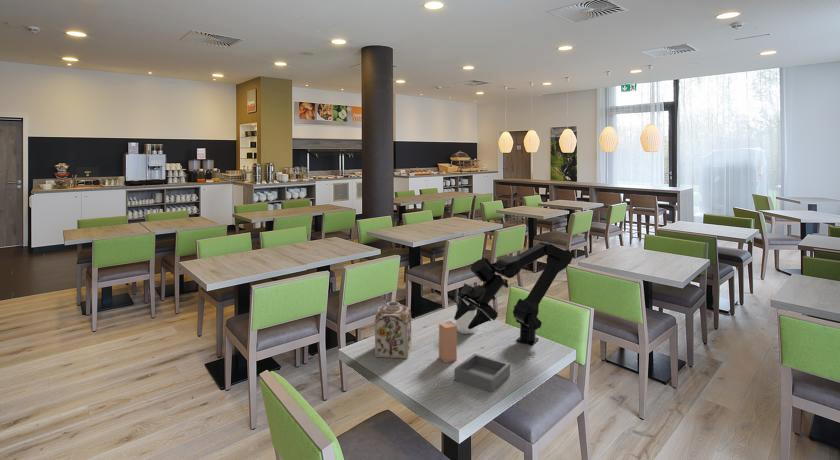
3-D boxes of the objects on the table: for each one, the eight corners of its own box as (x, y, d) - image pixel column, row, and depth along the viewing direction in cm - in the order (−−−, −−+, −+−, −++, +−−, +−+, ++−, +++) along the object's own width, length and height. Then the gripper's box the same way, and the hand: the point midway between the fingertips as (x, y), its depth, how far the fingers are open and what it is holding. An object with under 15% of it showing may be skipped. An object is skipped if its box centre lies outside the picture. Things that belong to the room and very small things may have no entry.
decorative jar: (380, 343, 172) (380, 297, 169) (411, 345, 171) (411, 298, 168) (374, 358, 161) (373, 308, 157) (407, 359, 159) (407, 309, 156)
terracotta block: (450, 354, 163) (450, 321, 161) (456, 360, 159) (457, 325, 157) (438, 357, 161) (439, 323, 159) (445, 362, 157) (445, 327, 155)
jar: (451, 328, 186) (451, 300, 184) (466, 324, 191) (467, 296, 189) (466, 336, 179) (466, 306, 177) (481, 331, 184) (482, 302, 182)
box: (474, 364, 156) (474, 353, 155) (509, 374, 149) (510, 363, 148) (454, 379, 145) (454, 368, 145) (492, 392, 138) (492, 380, 138)
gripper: (462, 269, 168) (434, 302, 165) (491, 282, 151) (461, 319, 149) (479, 287, 173) (453, 319, 170) (510, 302, 156) (481, 338, 153)
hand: (461, 323), depth 160 cm, fingers open, 9 cm apart
